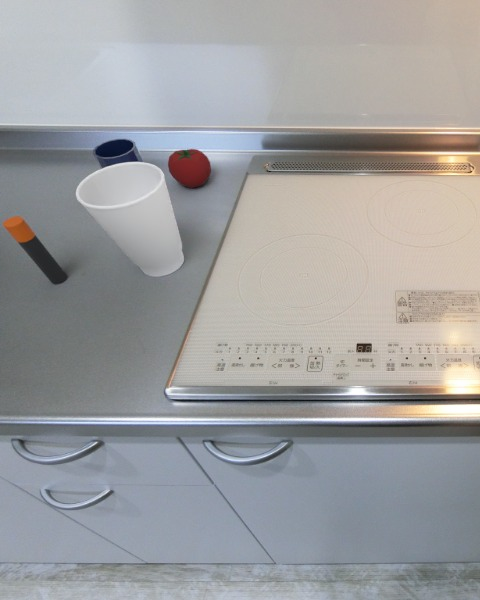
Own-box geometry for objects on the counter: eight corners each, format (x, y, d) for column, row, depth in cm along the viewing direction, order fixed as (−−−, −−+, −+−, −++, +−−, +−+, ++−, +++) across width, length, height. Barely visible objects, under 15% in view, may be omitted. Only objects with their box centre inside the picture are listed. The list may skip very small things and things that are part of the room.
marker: (48, 279, 72) (0, 221, 63) (64, 271, 74) (18, 214, 65) (54, 286, 71) (6, 229, 62) (70, 278, 72) (25, 221, 64)
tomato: (216, 170, 95) (206, 139, 89) (211, 191, 89) (199, 160, 84) (178, 172, 94) (165, 141, 89) (170, 194, 89) (156, 162, 83)
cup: (171, 294, 70) (126, 214, 59) (110, 278, 73) (54, 198, 61) (212, 248, 78) (180, 168, 66) (156, 234, 80) (115, 155, 68)
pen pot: (105, 184, 91) (85, 148, 85) (141, 169, 95) (124, 134, 89) (123, 198, 87) (103, 162, 82) (158, 182, 91) (142, 147, 85)
